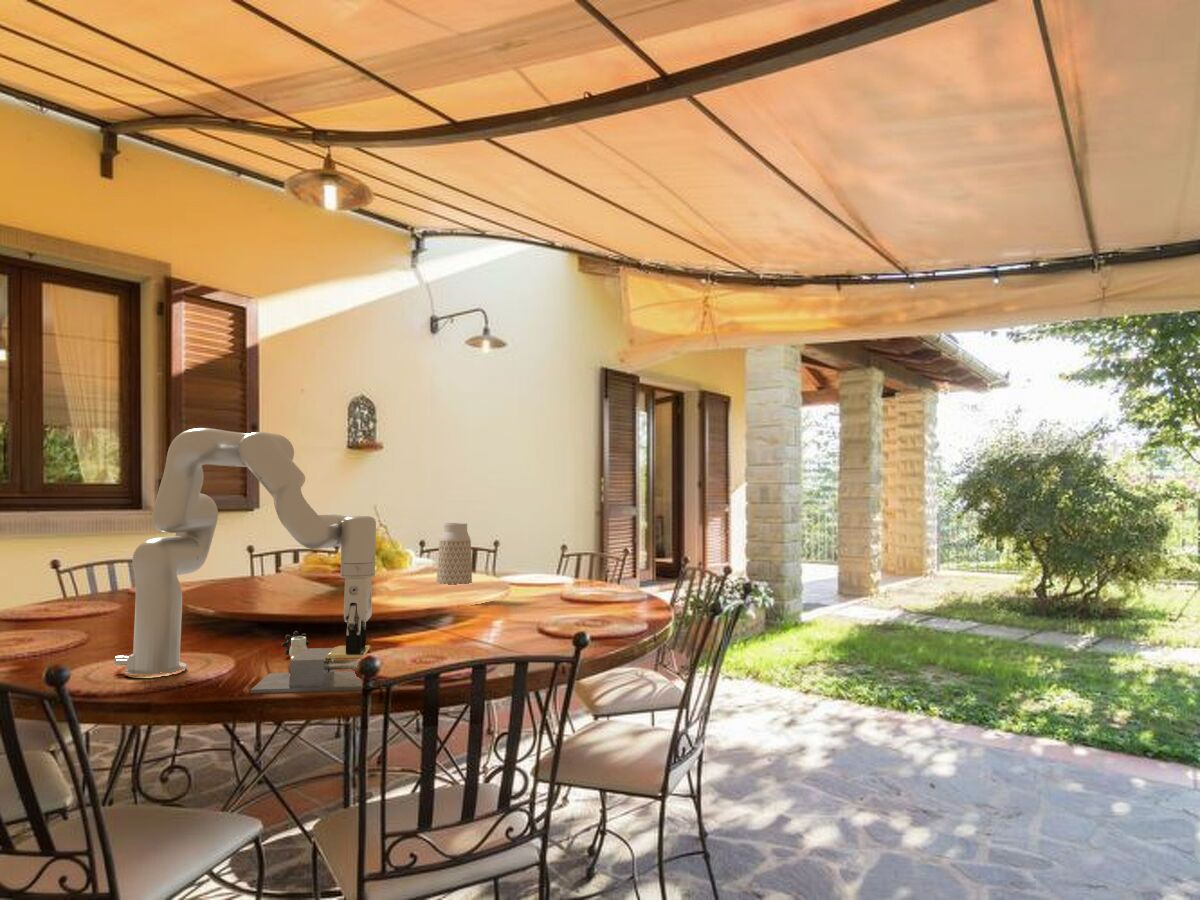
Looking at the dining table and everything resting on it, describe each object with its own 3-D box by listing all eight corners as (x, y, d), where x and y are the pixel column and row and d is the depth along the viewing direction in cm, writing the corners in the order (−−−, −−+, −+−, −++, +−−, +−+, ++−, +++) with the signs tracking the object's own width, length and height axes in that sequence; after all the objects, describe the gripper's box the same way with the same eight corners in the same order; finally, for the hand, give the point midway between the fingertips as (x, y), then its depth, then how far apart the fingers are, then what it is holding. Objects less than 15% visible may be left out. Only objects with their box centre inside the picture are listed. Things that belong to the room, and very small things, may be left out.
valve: (312, 665, 181) (308, 655, 192) (313, 638, 181) (309, 629, 192) (283, 667, 178) (281, 657, 189) (284, 640, 179) (282, 631, 189)
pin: (288, 678, 161) (288, 658, 161) (293, 673, 165) (293, 653, 165) (355, 676, 163) (355, 656, 163) (358, 671, 168) (358, 652, 168)
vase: (468, 604, 280) (470, 524, 281) (432, 604, 279) (434, 523, 281) (474, 599, 293) (475, 522, 295) (439, 599, 293) (441, 522, 295)
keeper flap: (325, 659, 160) (325, 655, 160) (334, 650, 170) (334, 645, 170) (362, 659, 161) (363, 654, 161) (369, 649, 171) (369, 645, 171)
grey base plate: (250, 693, 155) (251, 662, 155) (269, 676, 169) (270, 648, 169) (363, 689, 159) (363, 659, 159) (372, 674, 173) (373, 646, 173)
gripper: (369, 574, 159) (367, 658, 158) (380, 566, 176) (378, 642, 175) (333, 574, 157) (330, 659, 156) (347, 566, 175) (345, 642, 173)
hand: (355, 649), depth 166 cm, fingers closed on keeper flap, 6 cm apart
